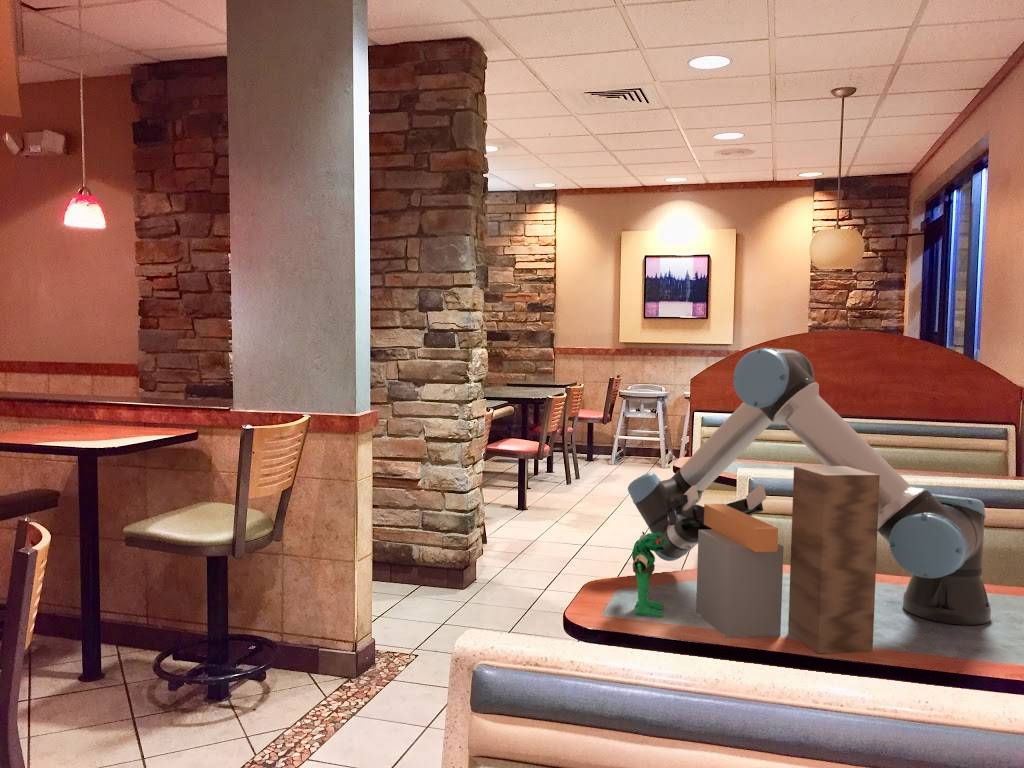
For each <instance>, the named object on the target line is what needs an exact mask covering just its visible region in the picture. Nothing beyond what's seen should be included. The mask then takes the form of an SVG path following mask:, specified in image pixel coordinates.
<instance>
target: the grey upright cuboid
mask: <svg viewBox="0 0 1024 768" xmlns="http://www.w3.org/2000/svg"><path fill="white" fill-rule="evenodd" d="M784 548H785V547H784V546H783V545H782V544H780V543H778V546H777V551H776V552H755V551H753V550H751V549H749V548H747V547H745V546H743V545H742V544H740V543H738V542H736V541H734V540H732V539H730V538H729V537H727V536H725V535H723V534H721V533H719V532H717V531H716V530H714V529H708V530H699V531H698V544H697V565H696V566H697V567H696V568H697V570H696V571H697V573H696V575H697V576H696V601H695V602H696V605H695V613H696V614H697V615H699V616H700V617H701V618H703V619H704V621H706V622H707V623H708V624H710V626H712V627H714V628H715V629H716V630H717V631H718V632H719V633H720V634H722V635H723V636H724V635H725V636H724V637H726V638H728V639H733V638H732V637H738V638H754V637H777V636H781V634H782V633H781V629H782V627H781V626H782V603H783V602H782V601H783V575H784V573H783V572H784V571H783V570H784Z"/></svg>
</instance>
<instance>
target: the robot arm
mask: <svg viewBox="0 0 1024 768" xmlns="http://www.w3.org/2000/svg"><path fill="white" fill-rule="evenodd" d="M732 384H733V389H734V391H735V393H736V395H737V397H739V399H740V400H741V401H742V403H741V404H740V405H739V406H738V407H737V408H736V409H735V410H734V412H732V413H731V415H730V416H729V417H728V418H726V420H725V421H724V422H722V424H721V425H720V426H719V427H718V428H717V429H716V430H715V431H714V432H713V433H712V434H711V435H710V436H709V438H707V440H705V442H704V443H703V444H702V445H701V446H700V447H699V448H698V449H697V450H696V451H695V452H694V453H693V454H692V455H691V457H689V459H687V461H685V463H684V464H682V466H681V467H680V469H678V470H676V472H675V473H674V474H673V475H672V476H671V477H670V478H668V479H665V480H661V478H660V477H658V476H657V474H656V473H655V472H652V471H651V472H646V473H644V474H642V475H641V476H638V477H637V478H635V479H633V481H631V482H630V483H629V485H628V486H627V491H628V494H629V495H630V498H631V500H632V503H633V504H634V505H635V507H636V509H637V511H638V512H639V514H640V516H641V517H642V519H643V520H644V522H645V524H646V525H647V527H648V528H649V529H648V530H649V531H650V533H657V532H658V531H660V532H661V533H662V538H663V539H664V540H665V541H666V542H667V543H666V544H665V545H663V546H662V547H663V548H664V550H665V551H664V552H655V551H653V552H654V553H655V554H656V556H657V557H658V558H660V559H661V560H663V561H666V562H674V561H677V560H679V559H680V558H682V557H684V556H685V555H687V554H688V552H690V551H691V550H692V549H693V548H695V547H696V546H698V531H699V530H708V529H712V528H710V527H708V526H706V525H704V505H703V506H702V505H701V504H698V503H699V502H700V500H702V499H701V498H702V496H703V493H704V491H705V490H706V489H708V487H710V485H711V484H712V483H713V482H714V481H715V480H717V478H719V476H720V475H721V474H723V472H724V471H725V470H727V468H728V467H729V466H731V464H732V463H734V462H735V460H736V459H737V458H739V456H740V455H741V454H742V453H744V451H746V449H747V448H748V447H749V446H750V445H752V443H754V441H755V440H756V439H757V438H758V437H759V436H760V435H761V434H763V432H764V431H765V430H766V429H767V428H768V427H769V426H770V425H771V424H772V423H773V424H774V425H783V426H787V428H788V429H789V430H790V431H791V432H792V433H793V434H794V435H795V436H796V437H797V438H798V439H799V440H800V441H801V443H802V444H804V446H806V447H807V448H808V449H809V450H810V451H811V453H812V454H814V456H815V457H816V458H817V459H818V460H820V461H821V463H822V464H823V465H824V466H847V467H851V468H855V469H859V470H863V471H866V472H870V473H874V474H878V475H880V480H879V505H878V530H877V533H879V534H880V535H881V536H882V537H883V539H885V540H886V541H887V543H888V544H889V550H890V552H891V553H890V554H891V555H892V558H893V559H894V560H895V562H896V563H897V564H898V565H899V566H900V567H901V568H902V569H903V570H904V571H906V572H907V573H909V574H911V576H910V579H909V582H908V584H907V587H906V590H905V592H904V593H903V598H902V600H903V601H902V607H903V609H904V610H905V611H906V612H908V613H910V614H912V615H914V616H915V617H916V616H917V617H920V618H922V619H926V620H930V621H932V622H933V621H934V622H938V623H943V624H951V625H959V626H960V625H961V626H962V625H963V626H973V625H975V626H976V625H983V624H987V623H989V622H991V614H992V613H991V612H992V607H991V604H990V603H989V598H988V594H987V590H986V588H985V584H984V581H983V576H982V575H983V559H984V558H983V557H984V556H983V553H984V538H985V534H984V533H985V532H984V531H985V519H986V518H987V515H986V512H985V504H984V502H983V501H982V500H981V499H978V498H971V497H964V496H963V497H962V496H955V495H947V494H937V493H931V492H930V491H929V490H928V489H927V488H923V487H914V486H912V485H911V484H910V483H909V482H908V481H907V480H905V478H903V476H902V475H900V474H899V472H897V470H896V469H894V468H893V466H891V465H890V464H889V463H888V462H887V461H886V460H885V459H884V458H883V457H882V456H881V455H880V454H879V453H878V452H877V450H875V448H873V447H872V446H871V445H870V444H869V443H867V440H865V439H864V438H863V437H862V436H861V435H860V434H859V433H858V432H857V431H856V430H855V429H854V428H852V426H850V424H848V423H847V421H845V420H844V419H843V417H842V416H840V415H839V414H838V413H837V412H836V411H835V409H833V408H832V407H831V405H829V404H828V402H826V401H825V400H824V399H823V398H822V397H821V396H820V393H819V392H820V391H819V390H820V384H819V383H818V382H817V381H816V380H815V369H814V367H813V365H812V362H811V361H810V359H809V358H808V357H806V355H804V354H802V352H800V351H797V350H795V349H790V348H772V347H771V348H770V347H760V348H757V349H754V350H752V351H751V350H750V351H749V352H747V353H746V354H744V355H743V356H742V357H741V358H740V359H739V360H738V362H737V364H736V365H735V368H734V372H733V383H732ZM766 499H767V495H766V490H765V485H764V484H759V485H757V487H755V488H754V489H753V490H751V491H750V492H749V493H747V495H746V496H745V498H743V499H740V500H736V501H734V502H733V501H732V502H729V503H724V504H725V505H727V506H730V507H732V508H734V509H736V510H738V511H741V512H743V513H745V514H747V515H749V516H753V515H756V514H758V513H760V512H763V511H764V506H763V502H764V501H765V500H766Z"/></svg>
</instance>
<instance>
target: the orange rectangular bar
mask: <svg viewBox="0 0 1024 768" xmlns="http://www.w3.org/2000/svg"><path fill="white" fill-rule="evenodd" d="M725 504H726V503H704V505H703V507H704V525H706V526H708V527H710V528H712V529H714V530H716V531H717V532H719V533H721V534H723V535H725V536H727V537H729V538H730V539H732V540H734V541H736V542H738V543H740V544H742V545H743V546H745V547H747V548H749V549H751V550H753V551H755V552H776V551H777V546H778V544H779V543H778V542H779V528H778V527H776V526H773V525H772V524H769V523H767V522H765V521H762V520H760V519H758V518H756V517H755V516H753V515H750V516H749V515H747V514H745V513H743V512H741V511H738V510H736V509H734V508H732V507H730V506H727V505H725Z"/></svg>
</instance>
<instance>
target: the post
mask: <svg viewBox="0 0 1024 768" xmlns="http://www.w3.org/2000/svg"><path fill="white" fill-rule="evenodd" d="M879 480H880V475H878V474H874V473H870V472H866V471H863V470H859V469H855V468H851V467H847V466H825V465H824V466H823V465H822V466H819V465H818V466H817V465H816V466H813V465H812V466H807V465H806V466H799V465H798V466H793V483H792V484H793V485H792V488H793V489H792V511H791V512H792V513H791V514H792V515H791V536H790V538H791V539H790V541H791V542H790V543H791V545H790V565H789V566H790V568H789V569H790V572H789V595H788V596H789V597H788V623H787V625H788V626H787V627H788V628H787V634H789V635H790V636H791V637H793V638H794V639H796V640H797V641H799V642H800V643H802V644H803V645H805V647H808V648H809V649H810V650H812V651H813V652H815V653H816V654H818V655H823V654H822V653H827V654H843V653H845V652H846V653H847V654H848V653H861V652H862V653H864V652H865V651H867V652H873V650H874V649H873V648H874V631H875V630H874V628H875V627H874V625H875V623H874V622H875V603H876V602H875V600H876V577H877V576H876V574H877V573H876V572H877V551H878V531H877V530H878V505H879ZM819 653H821V654H819Z"/></svg>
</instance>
